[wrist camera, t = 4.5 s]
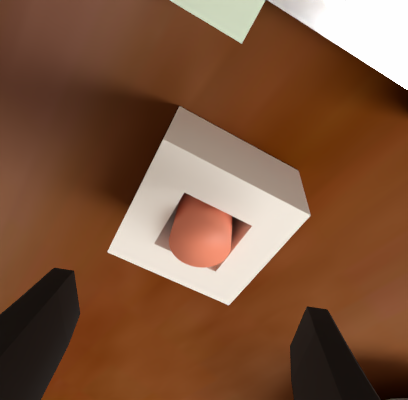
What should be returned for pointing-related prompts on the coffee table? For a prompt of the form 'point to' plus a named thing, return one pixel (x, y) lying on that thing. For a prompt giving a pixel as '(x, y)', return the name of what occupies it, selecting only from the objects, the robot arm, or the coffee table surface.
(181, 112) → the box
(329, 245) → the coffee table surface
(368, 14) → the slide rail
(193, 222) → the plunger
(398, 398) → the cereal bowl
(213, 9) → the block
